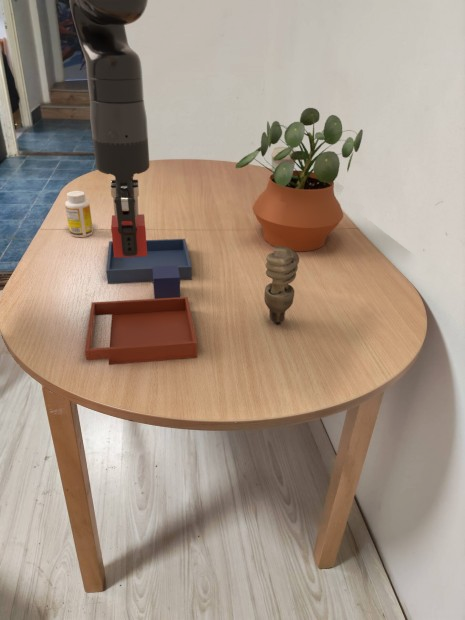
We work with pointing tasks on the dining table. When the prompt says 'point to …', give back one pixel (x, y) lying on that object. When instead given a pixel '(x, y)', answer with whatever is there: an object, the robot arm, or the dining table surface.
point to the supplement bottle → (78, 214)
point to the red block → (139, 236)
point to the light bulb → (280, 282)
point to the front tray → (144, 330)
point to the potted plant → (301, 184)
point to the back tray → (149, 262)
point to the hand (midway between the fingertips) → (130, 246)
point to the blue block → (166, 282)
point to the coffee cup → (286, 159)
